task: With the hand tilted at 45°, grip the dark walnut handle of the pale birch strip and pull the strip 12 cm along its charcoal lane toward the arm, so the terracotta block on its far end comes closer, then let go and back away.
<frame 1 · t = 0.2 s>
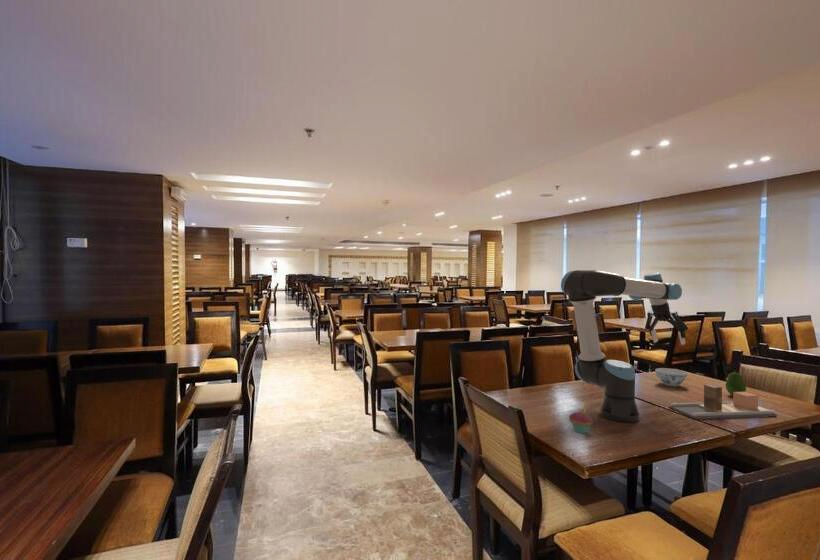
hand: (669, 342, 198), 27 cm above the table, tool tilted 15°, fingers open, 13 cm apart
cupcake: (580, 431, 153), on the table
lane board: (721, 411, 175), on the table
green bumpy rounded piece: (735, 396, 199), on the table
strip: (733, 397, 175), point 6 cm above the table, slide at 0.0 cm, touching block
block: (745, 407, 176), point 2 cm above the table, touching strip
chinaware: (671, 385, 220), on the table
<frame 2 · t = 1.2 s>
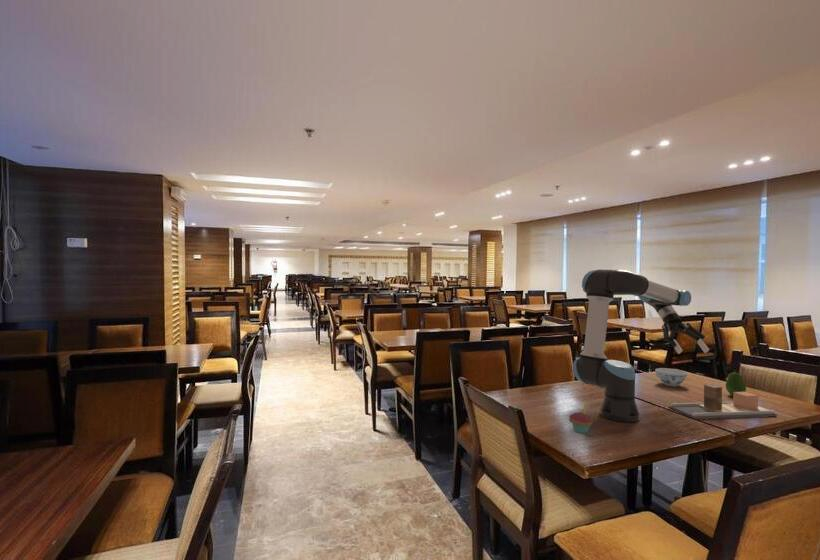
hand: (693, 351, 185), 25 cm above the table, tool tilted 45°, fingers open, 13 cm apart
nothing on the table moved.
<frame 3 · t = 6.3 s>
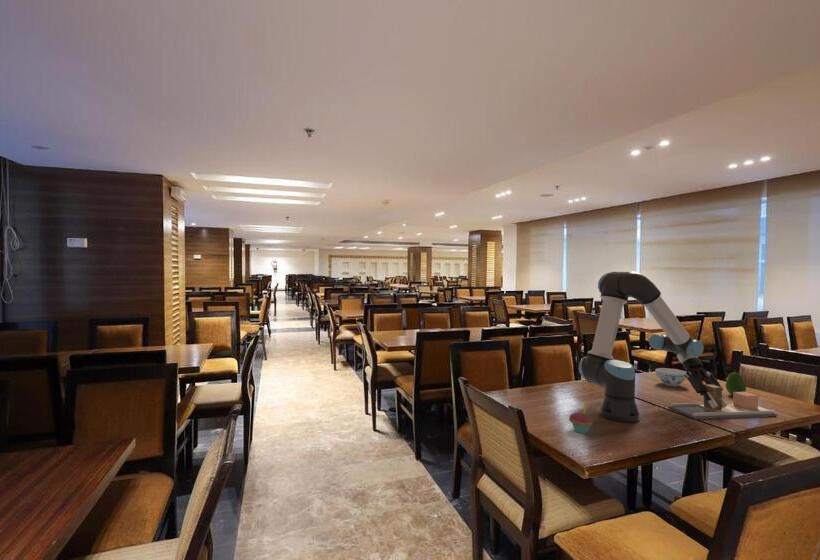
hand: (720, 406, 171), 4 cm above the table, tool tilted 45°, fingers closed on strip, 4 cm apart
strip: (733, 397, 175), point 6 cm above the table, slide at 0.0 cm, touching gripper
block: (745, 407, 176), point 2 cm above the table
everything else where it was.
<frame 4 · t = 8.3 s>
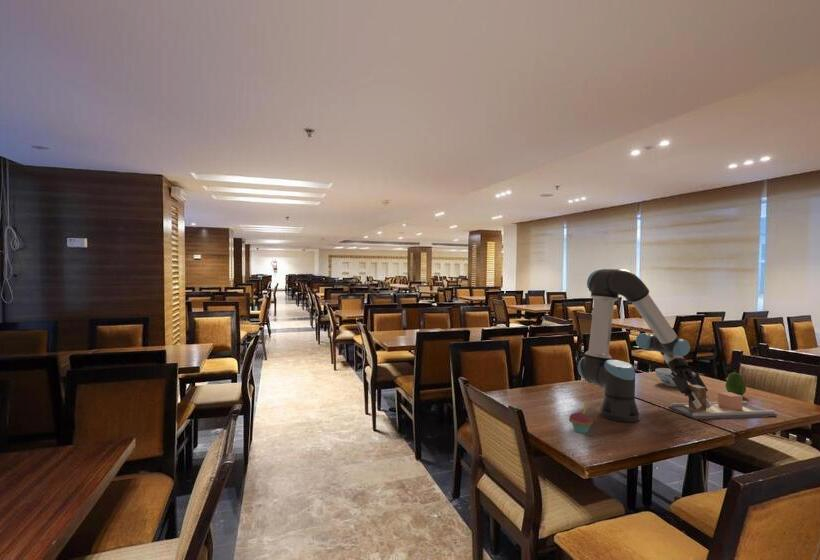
hand: (704, 407, 170), 4 cm above the table, tool tilted 45°, fingers closed on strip, 4 cm apart
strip: (718, 397, 175), point 6 cm above the table, slide at 7.5 cm, touching block, gripper
block: (730, 407, 175), point 2 cm above the table, touching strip
everything else where it was.
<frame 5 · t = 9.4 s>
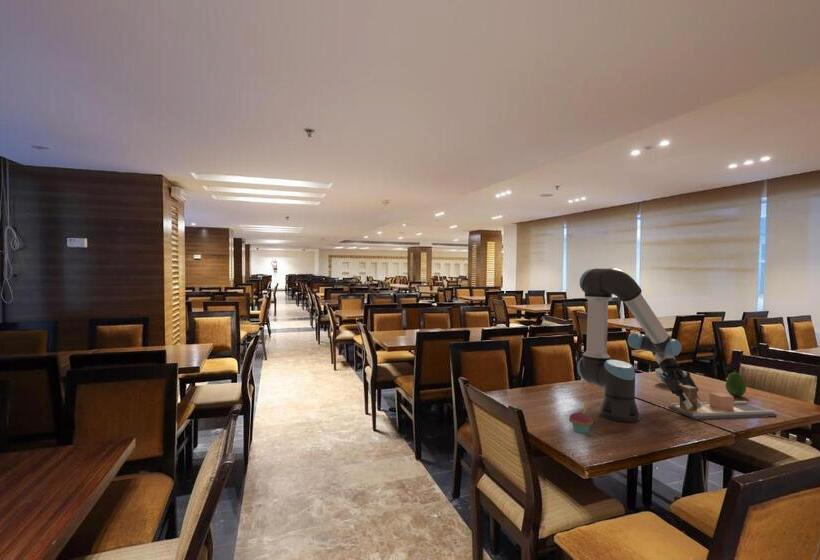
hand: (695, 407, 170), 4 cm above the table, tool tilted 45°, fingers closed on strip, 4 cm apart
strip: (709, 397, 174), point 6 cm above the table, slide at 11.8 cm, touching block, gripper
block: (721, 407, 175), point 2 cm above the table, touching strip
everything else where it was.
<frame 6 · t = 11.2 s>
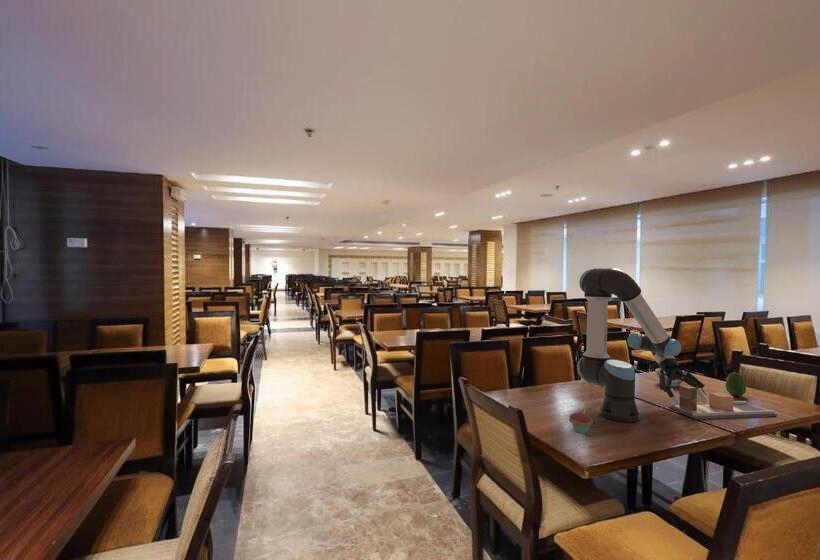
hand: (692, 403, 171), 5 cm above the table, tool tilted 45°, fingers open, 13 cm apart
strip: (709, 398, 174), point 6 cm above the table, slide at 12.0 cm, touching block
everything else where it was.
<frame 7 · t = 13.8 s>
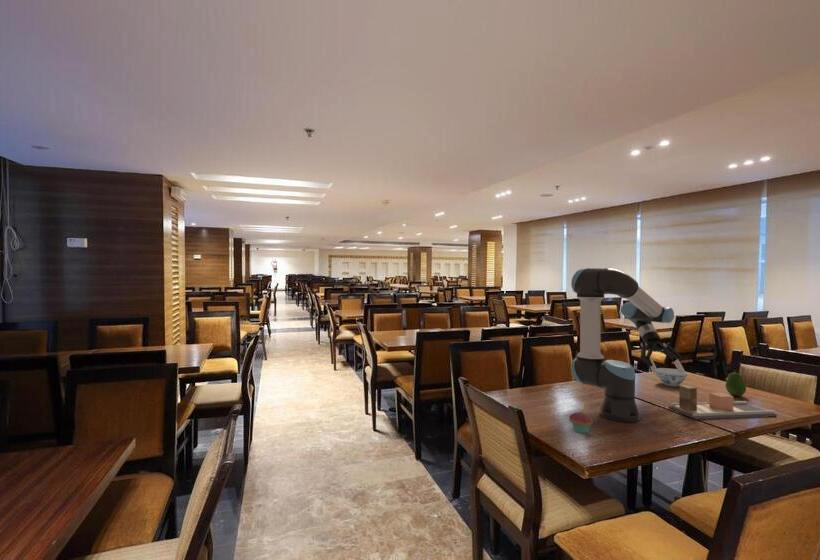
hand: (669, 372, 184), 16 cm above the table, tool tilted 45°, fingers open, 13 cm apart
nothing on the table moved.
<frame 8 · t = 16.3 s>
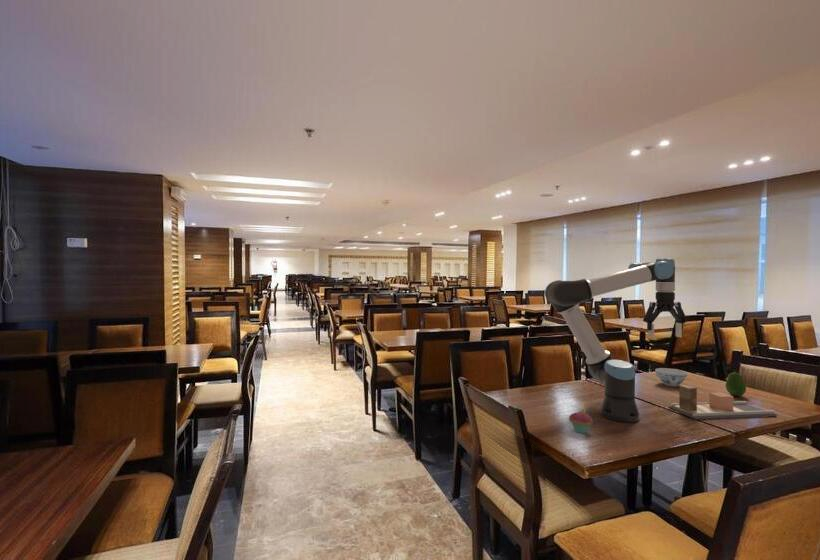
hand: (665, 337, 181), 33 cm above the table, tool pointing down, fingers open, 13 cm apart
nothing on the table moved.
at the end: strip slide at 12.0 cm; block inside the target area (0.2 cm from its centre), point 1.8 cm above the table; block tilted 0° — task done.
